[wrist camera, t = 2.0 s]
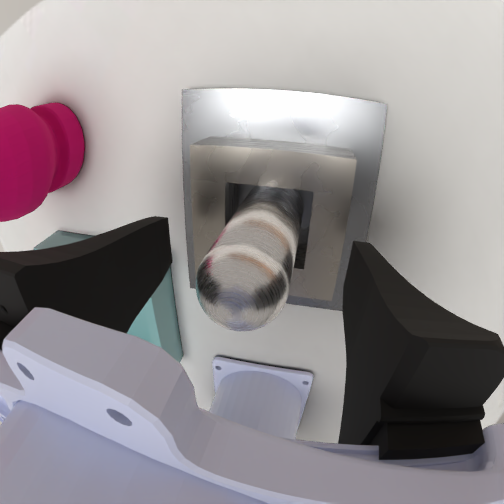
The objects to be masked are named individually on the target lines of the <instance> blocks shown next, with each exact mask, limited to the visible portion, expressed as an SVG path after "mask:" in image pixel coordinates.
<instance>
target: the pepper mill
mask: <svg viewBox="0 0 504 504" xmlns="http://www.w3.org/2000/svg"><path fill="white" fill-rule="evenodd" d="M84 150H85V148H84V137H83V132H82V128H81V126H80V123H79V121H78V119H77V117H76V115H75V114H74V113H73V112H72V111H71V110H70V109H69V108H68V107H66V106H65V105H63V104H60V103H48V104H43V105H39V106H35V107H32V108H31V109H29V108H28V107H25V106H22V105H18V104H16V105H8V106H5V107H2V108H0V222H5V221H9V220H14V219H18V218H20V217H22V216H24V215H26V214H28V213H31V212H32V211H34V210H35V209H37V208H38V207H39V206H40V205H41V204H42V202H43V201H44V199H45V198H46V196H47V194H48V193H50V192H53V191H55V190H57V189H59V188H61V187H63V186H65V185H67V184H69V183H70V182H72V181H73V180H74V179H75V177H76V176H77V174H78V173H79V171H80V168H81V166H82V163H83V157H84Z"/></svg>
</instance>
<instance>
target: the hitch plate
mask: <svg viewBox="0 0 504 504" xmlns="http://www.w3.org/2000/svg"><path fill="white" fill-rule="evenodd" d="M386 112H387V104H385V103H380V102H374V101H368V100H363V99H356V98H350V97H343V96H335V95H327V94H319V93H309V92H298V91H285V90H269V89H238V88H213V89H182V159H183V187H184V208H185V225H186V240H187V254H188V267H189V279H190V288H194V289H196V276H197V272H198V268H199V266H200V264H201V262H202V260H203V258H204V257H205V255H206V254H207V252H208V251H209V250H210V248H211V247H212V245H213V244H214V242H215V241H216V239H217V238H218V236H219V235H220V234H221V232H222V231H223V229H224V228H225V226H226V225H227V223H228V222H229V221H230V219H231V218H232V216H233V215H234V213H235V212H236V211H237V209H238V208H239V206H240V205H241V204H242V202H243V201H244V199H245V198H246V196H247V195H248V194H249V192H250V191H251V190H252V188H253V187H254V186H256V185H259V186H269V187H279V188H288V189H296V190H297V191H298V193H299V194H300V196H301V198H302V201H303V207H304V210H303V217H302V223H301V228H300V234H299V240H298V245H297V251H296V256H295V262H294V267H293V273H292V278H291V283H290V288H289V293H288V297H287V300H286V303H287V304H294V305H301V306H309V307H316V308H323V309H331V310H339V311H343V309H342V307H343V285H344V281H345V277H346V272H347V268H348V263H349V258H350V254H351V249H352V244H353V241H360V242H366V238H367V233H368V228H369V223H370V218H371V213H372V208H373V203H374V197H375V191H376V185H377V179H378V173H379V167H380V160H381V153H382V146H383V138H384V130H385V121H386Z"/></svg>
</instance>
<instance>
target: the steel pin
mask: <svg viewBox="0 0 504 504" xmlns="http://www.w3.org/2000/svg"><path fill="white" fill-rule="evenodd" d="M303 210H304V207H303V201H302V198H301V196H300V194H299V193H298V191H297V190H296V189H288V188H279V187H269V186H259V185H256V186H254V187H253V188H252V190H251V191H250V192H249V194H248V195H247V196H246V198H245V199H244V201H243V202H242V204H241V205H240V206H239V208H238V209H237V211H236V212H235V213H234V215H233V216H232V218H231V219H230V221H229V222H228V223H227V225H226V226H225V228H224V229H223V231H222V232H221V234H220V235H219V236H218V238H217V239H216V241H215V242H214V244H213V245H212V247H211V248H210V250H209V251H208V252H207V254H206V255H205V257H204V258H203V260H202V262H201V264H200V266H199V268H198V272H197V276H196V293H197V297H198V300H199V303H200V305H201V307H202V309H203V310H204V312H205V313H206V314H207V315H208V316H209V317H210V318H211V319H212V320H213V321H214V322H216V323H217V324H219V325H220V326H222V327H225V328H227V329H230V330H235V331H250V330H255V329H258V328H261V327H263V326H265V325H266V324H268V323H270V322H271V321H272V320H273V319H275V318H276V316H277V315H278V314H279V313H280V312H281V310H282V309H283V307H284V305H285V303H286V300H287V297H288V293H289V288H290V283H291V278H292V273H293V267H294V262H295V256H296V251H297V245H298V240H299V234H300V228H301V223H302V217H303Z"/></svg>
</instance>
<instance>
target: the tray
mask: <svg viewBox="0 0 504 504" xmlns="http://www.w3.org/2000/svg"><path fill="white" fill-rule="evenodd" d="M91 237H94V236H91V235H84V234H77V233H70V232H64V231H57V232H55V233H54V234H52V235H51V236H50V237H48V238H47V239H45V240H44V241H43V242H41V243H40V244H38V245H37V246H36V247H34V250H39V249H46V248H51V247H56V246H61V245H66V244H70V243H74V242H78V241H81V240H85V239H88V238H91ZM127 334H130V335H133V336H137V337H139V338H141V339H144V340H146V341H148V342H150V343H152V344H154V345H157V346H159V347H161V348H162V349H163V350H165V351H166V352H167V353H168V354H169V355H170V356H172V357H173V358H174V359H175V360H176V361H178V362H179V363H180V361H181V359H182V357H183V352H182V346H181V340H180V333H179V327H178V320H177V314H176V307H175V299H174V292H173V284H172V276H171V268H170V267H169V269H168V271H167V273H166V275H165V277H164V279H163V281H162V282H161V284H160V285H159V286H158V288H157V289H156V291H155V292H154V293H153V295H152V296H151V297H150V299H149V300H148V302H147V303H146V304H145V306H144V307H143V309H142V310H141V311H140V313H139V314H138V316H137V317H136V318H135V320H134V322H133V323H132V325H131V327H130V328H129V330H128V332H127Z"/></svg>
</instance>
